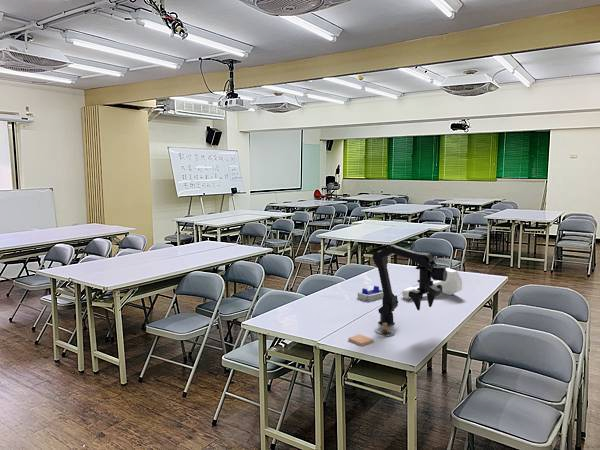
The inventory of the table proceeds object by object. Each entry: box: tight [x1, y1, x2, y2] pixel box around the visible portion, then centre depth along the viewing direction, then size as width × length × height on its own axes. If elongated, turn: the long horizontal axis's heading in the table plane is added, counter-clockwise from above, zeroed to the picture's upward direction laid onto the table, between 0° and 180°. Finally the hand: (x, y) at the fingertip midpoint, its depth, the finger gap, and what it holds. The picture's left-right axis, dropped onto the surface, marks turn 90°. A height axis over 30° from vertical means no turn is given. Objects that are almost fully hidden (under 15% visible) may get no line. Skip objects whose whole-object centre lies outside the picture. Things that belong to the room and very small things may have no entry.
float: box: [375, 322, 395, 338], centre depth 231 cm, size 8×5×6 cm, turn 38°
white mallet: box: [401, 267, 463, 300], centre depth 297 cm, size 24×18×35 cm
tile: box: [347, 333, 375, 347], centre depth 221 cm, size 9×2×8 cm
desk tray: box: [357, 288, 383, 302], centre depth 296 cm, size 10×18×4 cm, turn 126°
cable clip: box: [361, 285, 380, 295], centre depth 297 cm, size 12×4×6 cm, turn 126°
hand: (424, 308), depth 232 cm, fingers open, 9 cm apart
